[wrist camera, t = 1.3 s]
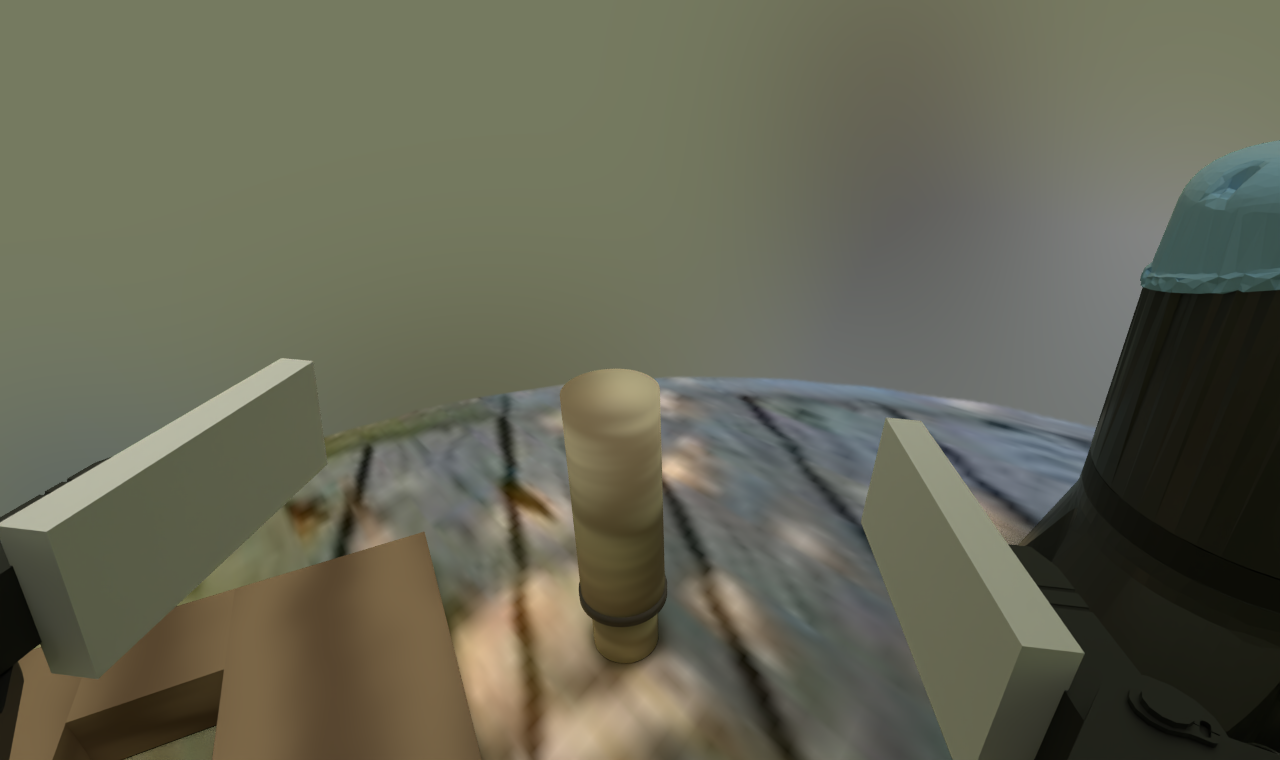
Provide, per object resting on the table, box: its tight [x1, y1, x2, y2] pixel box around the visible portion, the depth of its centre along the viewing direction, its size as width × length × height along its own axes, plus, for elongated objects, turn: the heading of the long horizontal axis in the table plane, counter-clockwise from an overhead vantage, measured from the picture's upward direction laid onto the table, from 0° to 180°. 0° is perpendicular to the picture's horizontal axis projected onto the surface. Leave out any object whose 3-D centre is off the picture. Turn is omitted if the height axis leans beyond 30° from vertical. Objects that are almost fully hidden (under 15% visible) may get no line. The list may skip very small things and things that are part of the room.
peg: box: [560, 369, 667, 663], centre depth 29 cm, size 4×4×14 cm
